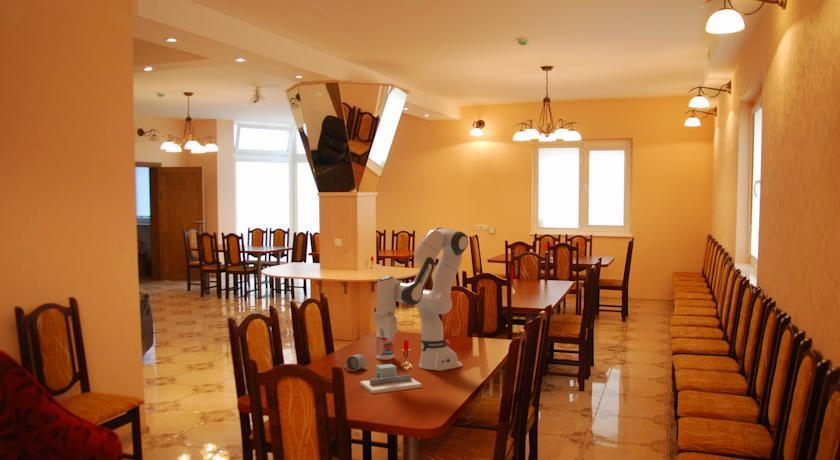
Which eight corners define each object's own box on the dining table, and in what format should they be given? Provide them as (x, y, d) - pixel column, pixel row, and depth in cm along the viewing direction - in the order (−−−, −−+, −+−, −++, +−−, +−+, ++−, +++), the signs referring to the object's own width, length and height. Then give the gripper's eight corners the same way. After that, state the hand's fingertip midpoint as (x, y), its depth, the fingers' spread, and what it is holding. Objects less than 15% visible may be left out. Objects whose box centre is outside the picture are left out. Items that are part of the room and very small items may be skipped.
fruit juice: (382, 355, 375) (382, 304, 374) (396, 357, 371) (396, 306, 369) (372, 358, 367) (372, 307, 366) (387, 360, 362) (387, 308, 361)
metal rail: (409, 379, 319) (409, 374, 319) (411, 380, 317) (411, 375, 317) (369, 384, 311) (369, 379, 311) (371, 385, 309) (371, 380, 309)
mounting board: (407, 378, 326) (407, 375, 326) (421, 387, 312) (421, 383, 312) (360, 384, 316) (360, 381, 316) (372, 393, 302) (372, 390, 302)
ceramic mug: (366, 368, 347) (366, 353, 346) (358, 371, 339) (358, 356, 339) (349, 366, 351) (348, 351, 351) (340, 370, 344) (340, 354, 344)
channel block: (391, 376, 332) (391, 363, 332) (396, 379, 326) (396, 366, 326) (376, 377, 329) (376, 365, 328) (381, 381, 323) (380, 368, 322)
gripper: (400, 313, 318) (400, 342, 318) (384, 306, 336) (384, 334, 337) (388, 314, 315) (388, 343, 316) (372, 307, 333) (372, 335, 334)
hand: (385, 339), depth 326 cm, fingers open, 8 cm apart
